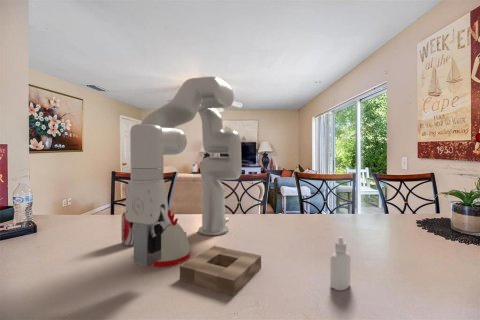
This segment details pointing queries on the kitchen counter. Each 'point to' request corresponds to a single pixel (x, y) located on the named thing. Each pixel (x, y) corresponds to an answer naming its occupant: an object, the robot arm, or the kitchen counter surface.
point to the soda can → (127, 232)
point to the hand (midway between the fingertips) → (147, 248)
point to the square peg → (143, 245)
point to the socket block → (221, 269)
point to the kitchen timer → (173, 245)
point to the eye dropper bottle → (340, 267)
